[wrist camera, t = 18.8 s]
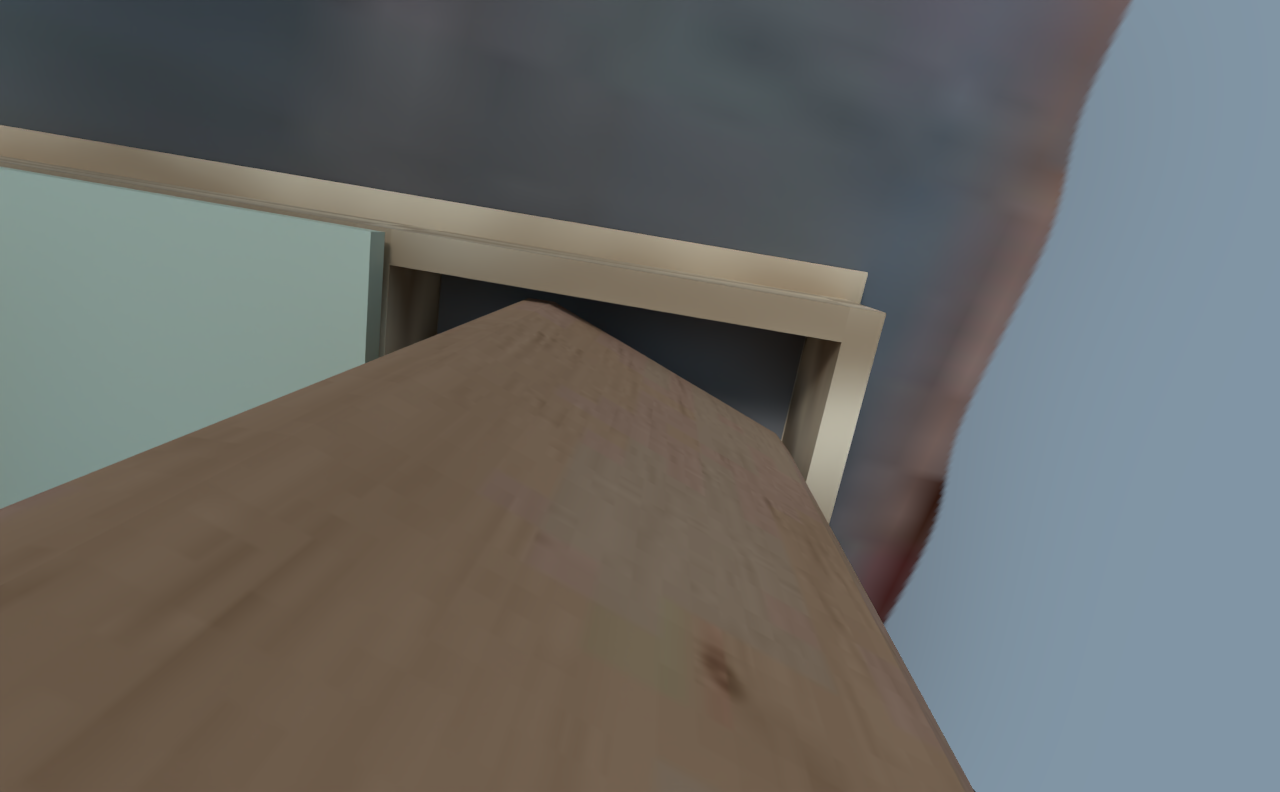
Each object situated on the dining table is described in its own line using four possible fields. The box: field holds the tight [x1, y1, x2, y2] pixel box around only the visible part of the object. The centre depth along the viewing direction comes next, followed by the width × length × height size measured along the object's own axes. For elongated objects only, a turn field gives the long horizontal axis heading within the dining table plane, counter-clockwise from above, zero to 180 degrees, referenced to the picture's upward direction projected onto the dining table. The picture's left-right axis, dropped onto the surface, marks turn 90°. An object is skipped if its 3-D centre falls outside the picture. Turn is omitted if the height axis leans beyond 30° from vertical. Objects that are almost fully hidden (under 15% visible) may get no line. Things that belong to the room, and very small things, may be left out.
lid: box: [0, 166, 385, 509], centre depth 17 cm, size 15×15×4 cm
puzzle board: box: [0, 125, 886, 524], centre depth 21 cm, size 17×32×5 cm, turn 81°
